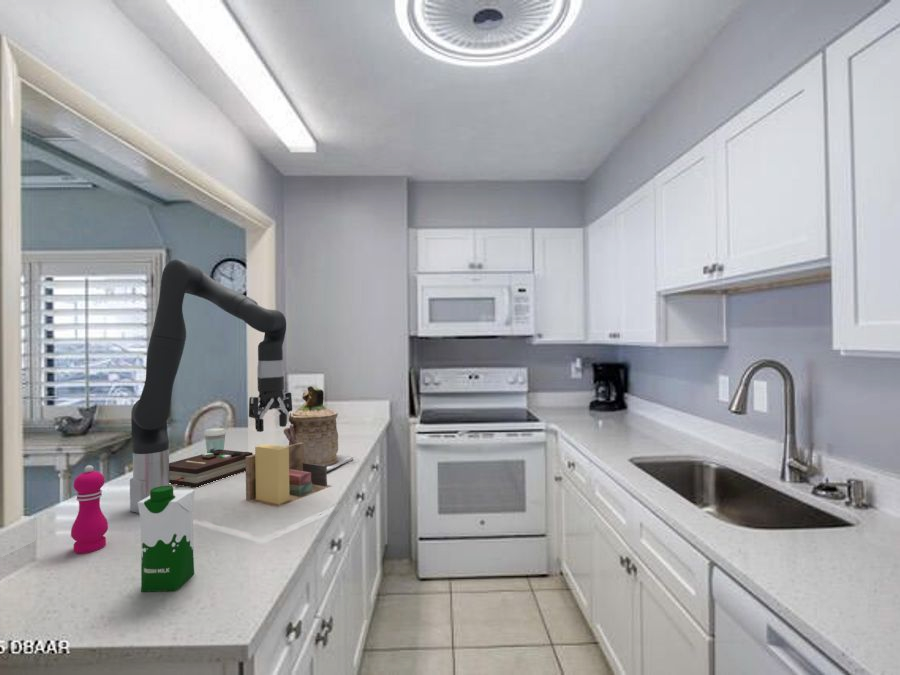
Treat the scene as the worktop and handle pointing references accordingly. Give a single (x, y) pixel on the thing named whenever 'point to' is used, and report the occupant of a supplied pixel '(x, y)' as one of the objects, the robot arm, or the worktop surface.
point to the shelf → (292, 465)
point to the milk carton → (166, 539)
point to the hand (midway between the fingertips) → (271, 428)
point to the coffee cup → (215, 438)
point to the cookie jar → (316, 431)
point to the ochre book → (272, 473)
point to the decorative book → (207, 467)
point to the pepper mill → (89, 513)
